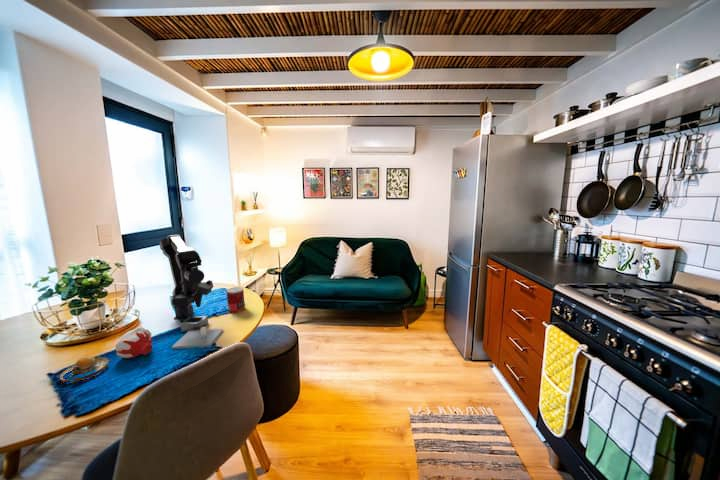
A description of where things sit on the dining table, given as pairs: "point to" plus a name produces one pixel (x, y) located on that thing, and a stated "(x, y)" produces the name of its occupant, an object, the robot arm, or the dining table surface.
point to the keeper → (198, 338)
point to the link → (194, 323)
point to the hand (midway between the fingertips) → (193, 311)
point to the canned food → (235, 299)
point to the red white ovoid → (134, 343)
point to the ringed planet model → (86, 367)
